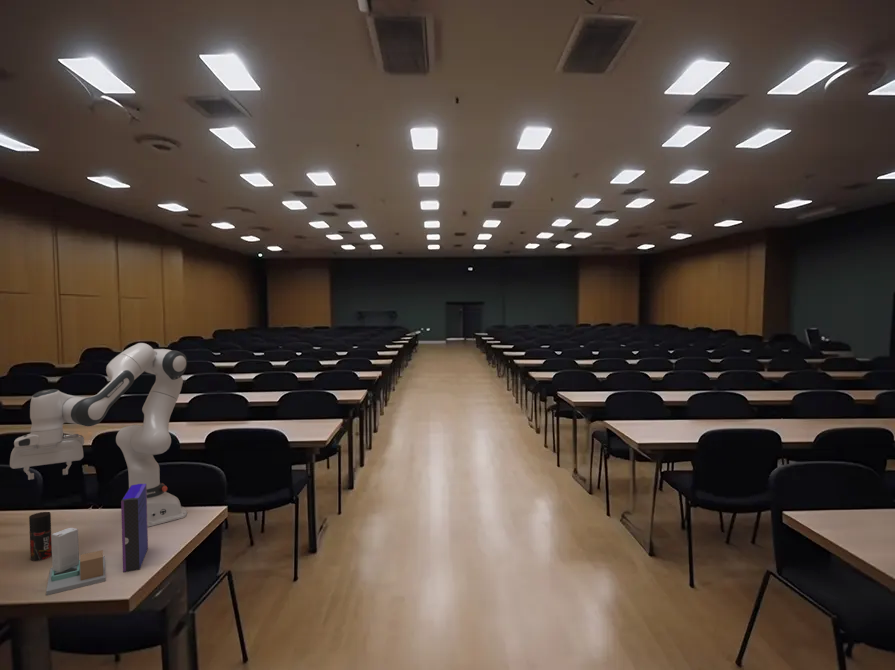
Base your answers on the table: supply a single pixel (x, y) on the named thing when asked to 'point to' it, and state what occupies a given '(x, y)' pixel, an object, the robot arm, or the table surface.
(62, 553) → the skincare box
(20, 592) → the table surface
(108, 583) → the table surface
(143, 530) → the cereal box
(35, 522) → the deodorant
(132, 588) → the table surface
